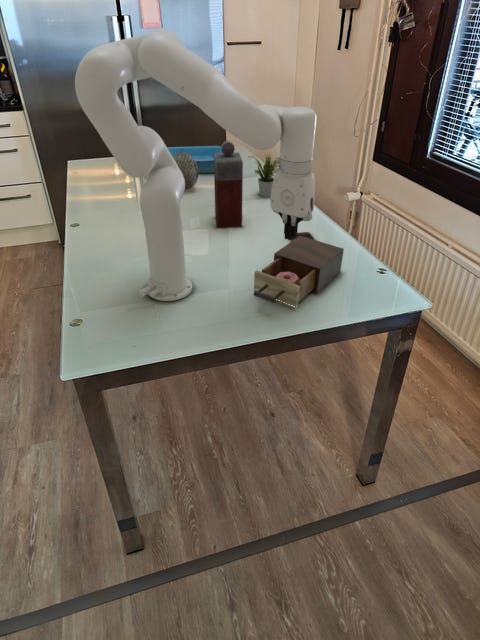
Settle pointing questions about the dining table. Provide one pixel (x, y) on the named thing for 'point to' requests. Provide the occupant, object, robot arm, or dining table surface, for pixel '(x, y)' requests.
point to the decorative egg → (187, 168)
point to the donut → (288, 277)
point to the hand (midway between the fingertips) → (290, 237)
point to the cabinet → (314, 258)
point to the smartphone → (304, 235)
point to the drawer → (284, 282)
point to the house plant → (266, 176)
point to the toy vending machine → (228, 187)
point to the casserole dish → (200, 156)
